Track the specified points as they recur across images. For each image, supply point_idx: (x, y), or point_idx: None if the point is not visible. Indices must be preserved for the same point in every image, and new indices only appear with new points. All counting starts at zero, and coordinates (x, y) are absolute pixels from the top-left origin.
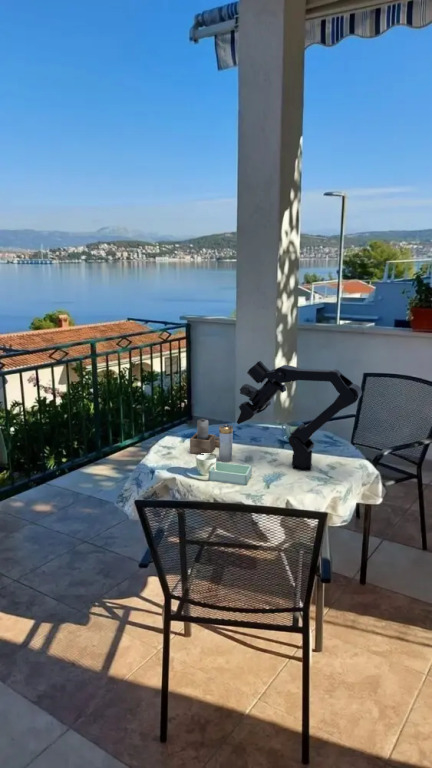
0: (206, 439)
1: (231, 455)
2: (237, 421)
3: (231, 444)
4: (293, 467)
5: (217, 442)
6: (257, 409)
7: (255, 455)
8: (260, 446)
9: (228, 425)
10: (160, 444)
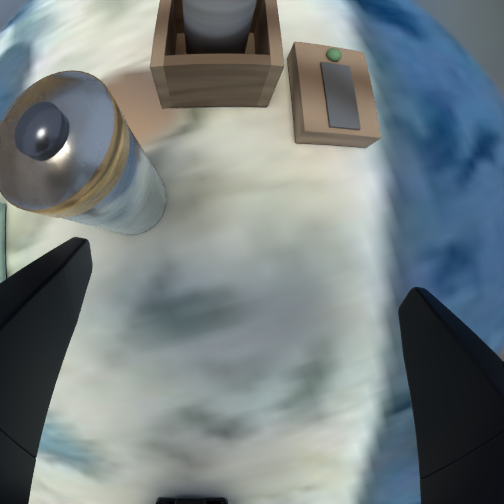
0: (200, 42)
1: (118, 232)
2: (60, 252)
3: (91, 225)
4: (161, 502)
5: (300, 101)
6: (453, 475)
7: (256, 334)
8: (387, 319)
9: (43, 154)
10: None
